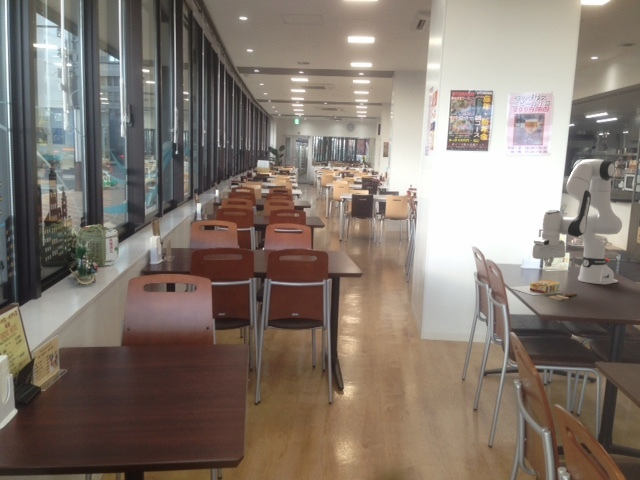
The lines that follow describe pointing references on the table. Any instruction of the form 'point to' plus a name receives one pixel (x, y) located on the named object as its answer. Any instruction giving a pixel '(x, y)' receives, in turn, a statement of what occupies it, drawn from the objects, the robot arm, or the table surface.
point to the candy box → (544, 286)
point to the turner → (563, 296)
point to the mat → (527, 290)
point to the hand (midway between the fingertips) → (548, 266)
